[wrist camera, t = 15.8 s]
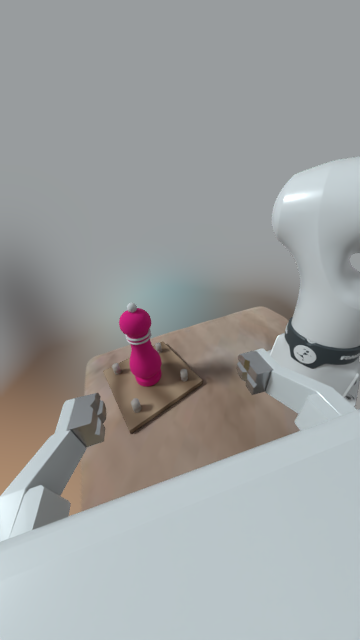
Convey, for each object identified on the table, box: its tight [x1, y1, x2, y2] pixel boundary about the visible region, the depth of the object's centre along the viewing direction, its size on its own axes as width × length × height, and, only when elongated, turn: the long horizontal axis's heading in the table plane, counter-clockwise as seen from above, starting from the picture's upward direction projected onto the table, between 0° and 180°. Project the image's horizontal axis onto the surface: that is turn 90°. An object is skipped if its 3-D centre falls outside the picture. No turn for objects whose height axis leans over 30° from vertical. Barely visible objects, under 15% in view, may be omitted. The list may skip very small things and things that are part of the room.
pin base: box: [103, 342, 203, 433], centre depth 43 cm, size 18×18×4 cm
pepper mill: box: [119, 303, 162, 387], centre depth 38 cm, size 7×7×20 cm
